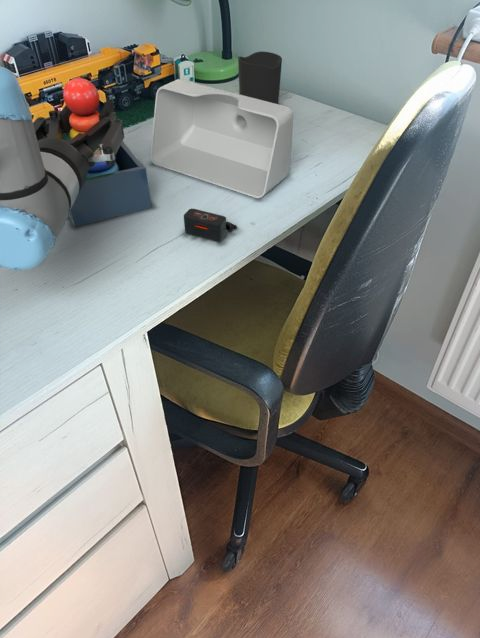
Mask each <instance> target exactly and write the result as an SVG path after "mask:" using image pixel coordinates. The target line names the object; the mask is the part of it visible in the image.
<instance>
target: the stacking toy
mask: <svg viewBox="0 0 480 638" xmlns="http://www.w3.org/2000/svg"><path fill="white" fill-rule="evenodd" d="M62 97H63V101H64V103H65V106H66V105H67V107H68V108H69V109H70V110H71V111H72V112H73V113H72V114H71V115H70V117H69V123H70V125H71V127H72V128H71V130H70V132H69V139H72V138H73V137H75V136H76V135H77V134H79V133H83V134H84V133H85V132H86V131H88V130H89V129H90V128H91V127H92V126H94V125H95V124H96V123H97V122H99V117H98V115H99V114H100V111H98V108H99V105H100V94H99V91H98V89H97V87H96V86H95V85H94V83H92V82H91V81H90V80H88V79H86V78H82V77H75V78H72V79H70V80H69V81H67V83H66V84H65V85H64V87H63V91H62ZM98 149H100V148H98ZM98 149H97V150H98ZM97 150H96V151H95V152H97ZM114 158H115V157H114ZM118 171H119V168H118V165H117V164H115V165H114V166H108V165H107V164H106V162H102V161H101V162H95V165H94V166H93V167H92V168H90V169H89V170H88V174H87V178H90V177H95V176H99V175H104V174H109V173H113V172H118Z"/></svg>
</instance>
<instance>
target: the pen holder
mask: <svg viewBox="0 0 480 638" xmlns="http://www.w3.org/2000/svg"><path fill="white" fill-rule="evenodd" d="M237 59H238V60H237V64H238V65H237V67H238V89H239V90H238V92H239V93H238V94H239V95H243V96H247V97H251V98H255V99H259V100H263V101H267V102H271V103H275V104H279V100H280V91H281V90H280V89H281V88H280V87H281V76H282V74H281V73H282V63H283V58H282V56H281V55H279V54H278V53H274V52H271V51H261V50H260V51H256V52H254V53H251V54H250V55H247V56H238V57H237Z"/></svg>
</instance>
